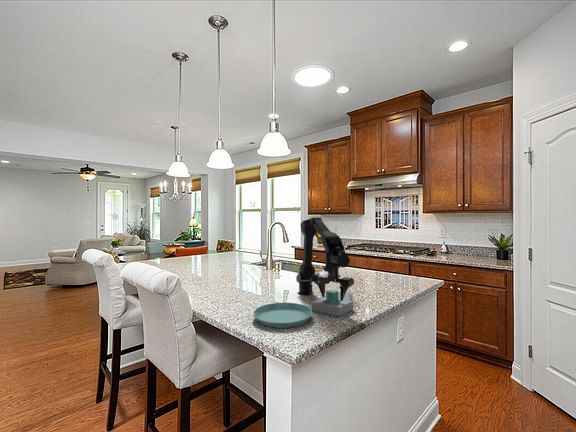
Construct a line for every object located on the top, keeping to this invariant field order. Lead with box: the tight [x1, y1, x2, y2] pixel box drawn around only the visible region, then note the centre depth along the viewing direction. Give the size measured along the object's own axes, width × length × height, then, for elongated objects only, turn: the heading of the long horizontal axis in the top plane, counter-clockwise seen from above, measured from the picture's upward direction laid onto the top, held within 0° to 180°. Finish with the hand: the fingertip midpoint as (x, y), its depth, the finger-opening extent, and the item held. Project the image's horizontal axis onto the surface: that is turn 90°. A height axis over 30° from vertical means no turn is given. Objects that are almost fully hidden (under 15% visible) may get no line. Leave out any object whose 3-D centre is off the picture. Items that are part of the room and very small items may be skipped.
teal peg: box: [325, 289, 339, 304], centre depth 132 cm, size 4×4×8 cm
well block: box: [311, 295, 354, 318], centre depth 132 cm, size 14×12×4 cm
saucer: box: [253, 302, 314, 329], centre depth 123 cm, size 24×24×3 cm
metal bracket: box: [338, 291, 360, 308], centre depth 143 cm, size 14×6×15 cm
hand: (332, 299), depth 132 cm, fingers open, 9 cm apart
